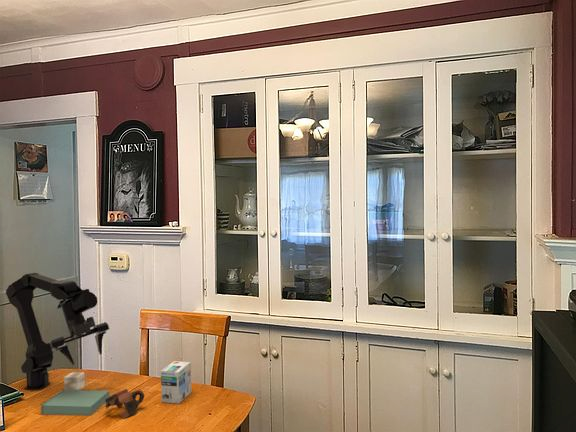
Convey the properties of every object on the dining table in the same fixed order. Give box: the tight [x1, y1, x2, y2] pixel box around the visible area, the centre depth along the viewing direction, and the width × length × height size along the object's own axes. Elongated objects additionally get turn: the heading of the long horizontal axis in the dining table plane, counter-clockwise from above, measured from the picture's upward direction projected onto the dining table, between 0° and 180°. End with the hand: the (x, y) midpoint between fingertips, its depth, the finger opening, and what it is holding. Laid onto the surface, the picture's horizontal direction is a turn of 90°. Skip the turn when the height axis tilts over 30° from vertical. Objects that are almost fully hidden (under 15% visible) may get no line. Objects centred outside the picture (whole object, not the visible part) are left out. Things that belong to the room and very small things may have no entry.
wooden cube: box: [63, 371, 86, 390], centre depth 179 cm, size 5×5×5 cm
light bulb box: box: [160, 360, 192, 404], centre depth 169 cm, size 11×7×11 cm, turn 168°
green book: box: [40, 388, 110, 416], centre depth 163 cm, size 16×13×3 cm
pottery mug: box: [105, 388, 145, 420], centre depth 159 cm, size 12×10×8 cm
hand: (87, 359), depth 169 cm, fingers open, 9 cm apart
